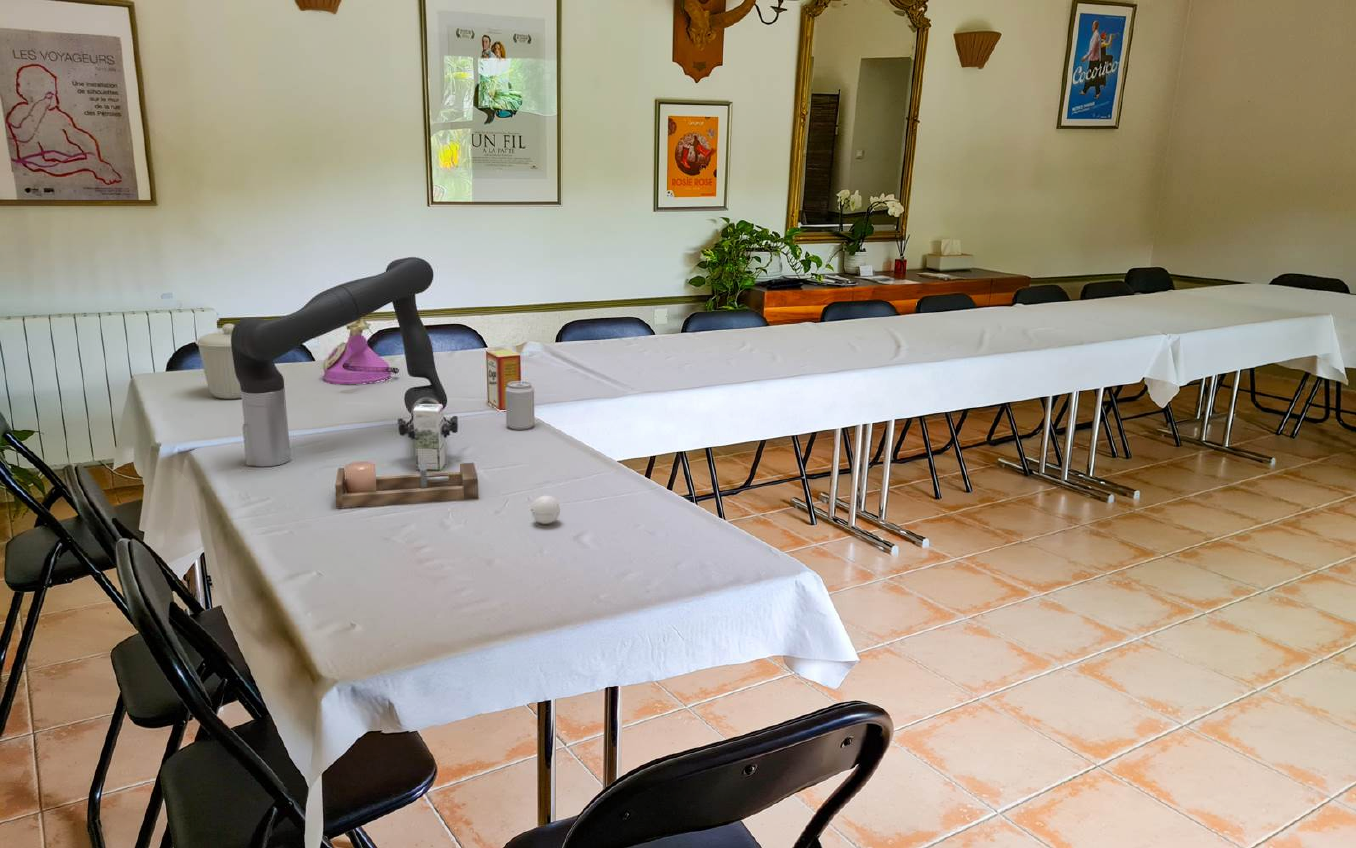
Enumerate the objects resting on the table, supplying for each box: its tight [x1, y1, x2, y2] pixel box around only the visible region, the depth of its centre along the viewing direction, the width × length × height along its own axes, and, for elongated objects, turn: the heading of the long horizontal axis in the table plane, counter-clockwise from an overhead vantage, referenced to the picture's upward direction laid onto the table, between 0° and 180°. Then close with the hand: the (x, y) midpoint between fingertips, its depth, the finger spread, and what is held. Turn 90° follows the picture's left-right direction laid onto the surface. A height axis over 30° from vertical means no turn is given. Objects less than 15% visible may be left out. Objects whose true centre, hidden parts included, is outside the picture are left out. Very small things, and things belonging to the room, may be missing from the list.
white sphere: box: [530, 494, 561, 525], centre depth 190 cm, size 8×6×6 cm
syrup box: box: [413, 404, 446, 471], centre depth 222 cm, size 6×6×14 cm
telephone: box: [322, 317, 400, 385], centre depth 301 cm, size 36×22×25 cm, turn 25°
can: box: [505, 380, 536, 431], centre depth 256 cm, size 8×8×12 cm
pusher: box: [419, 460, 449, 489], centre depth 206 cm, size 6×7×6 cm
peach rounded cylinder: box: [344, 461, 378, 494], centre depth 202 cm, size 6×6×7 cm
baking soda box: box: [485, 348, 522, 410], centre depth 276 cm, size 10×6×16 cm
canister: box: [194, 323, 242, 400], centre depth 281 cm, size 18×18×21 cm
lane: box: [334, 462, 479, 509], centre depth 205 cm, size 28×11×5 cm, turn 106°
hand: (429, 434), depth 219 cm, fingers closed on syrup box, 6 cm apart
